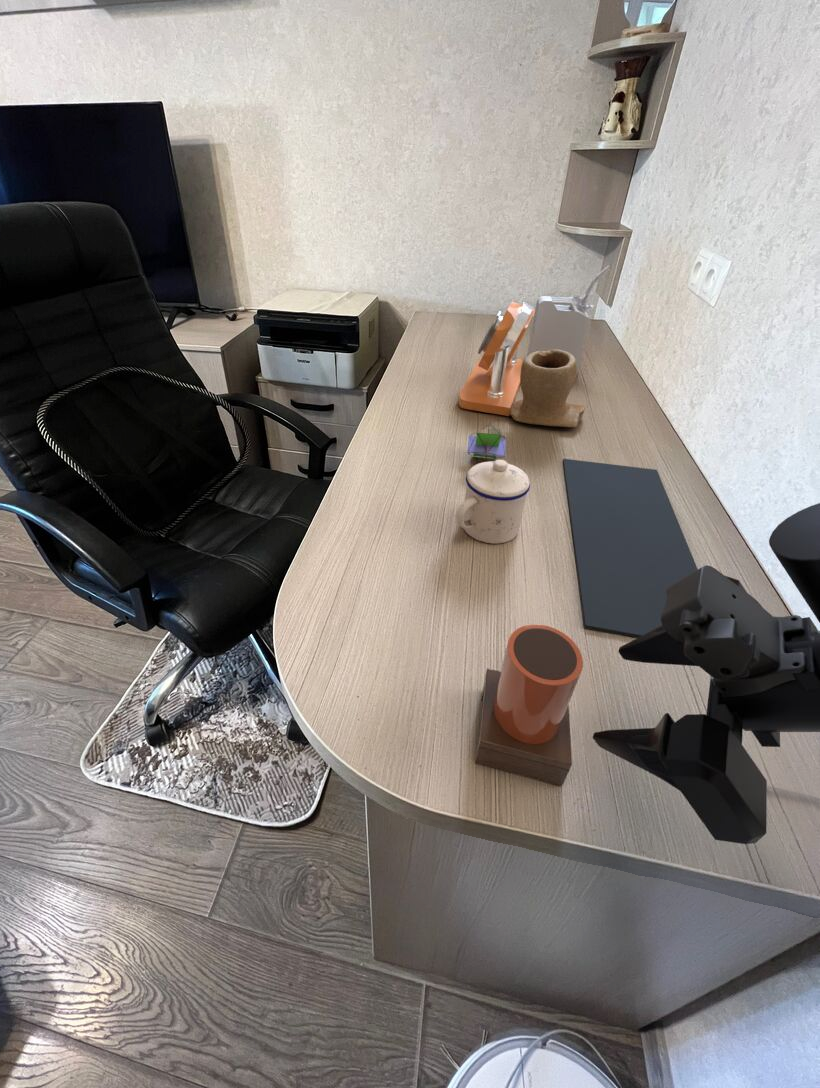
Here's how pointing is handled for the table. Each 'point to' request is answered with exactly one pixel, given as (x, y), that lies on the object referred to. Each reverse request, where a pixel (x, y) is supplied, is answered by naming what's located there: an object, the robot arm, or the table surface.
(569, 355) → the stone cup
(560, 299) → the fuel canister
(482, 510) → the teacup with lid
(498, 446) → the geometric puzzle
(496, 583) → the table surface
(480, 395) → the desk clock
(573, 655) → the cup
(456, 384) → the table surface
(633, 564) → the desk mat
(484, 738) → the brown square slab
